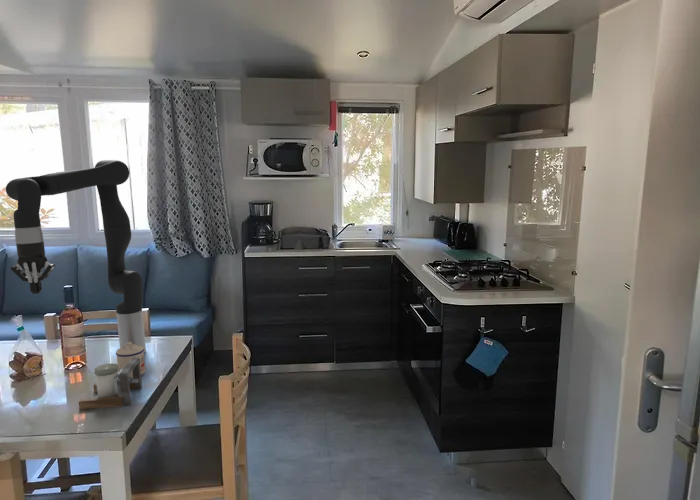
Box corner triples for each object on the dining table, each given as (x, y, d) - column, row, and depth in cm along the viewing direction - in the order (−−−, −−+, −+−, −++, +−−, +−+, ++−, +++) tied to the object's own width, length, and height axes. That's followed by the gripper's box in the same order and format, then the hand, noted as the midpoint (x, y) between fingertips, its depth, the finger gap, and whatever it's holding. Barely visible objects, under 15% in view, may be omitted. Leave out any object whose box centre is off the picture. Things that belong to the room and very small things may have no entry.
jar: (100, 394, 157) (97, 364, 155) (123, 392, 158) (120, 362, 157) (95, 404, 151) (91, 373, 149) (118, 401, 152) (115, 370, 150)
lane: (95, 390, 160) (92, 360, 158) (141, 387, 162) (139, 357, 160) (79, 409, 147) (75, 376, 146) (129, 405, 149) (126, 373, 148)
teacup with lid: (140, 378, 169) (137, 346, 167) (113, 379, 168) (110, 347, 166) (152, 365, 180) (150, 335, 179) (127, 366, 180) (124, 336, 178)
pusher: (124, 389, 159) (122, 368, 158) (142, 388, 160) (140, 366, 159) (115, 401, 151) (113, 379, 150) (134, 400, 151) (132, 377, 150)
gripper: (57, 238, 162) (63, 289, 165) (14, 240, 160) (21, 291, 163) (46, 241, 155) (52, 295, 157) (1, 243, 153) (8, 297, 156)
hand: (36, 293), depth 160 cm, fingers closed
